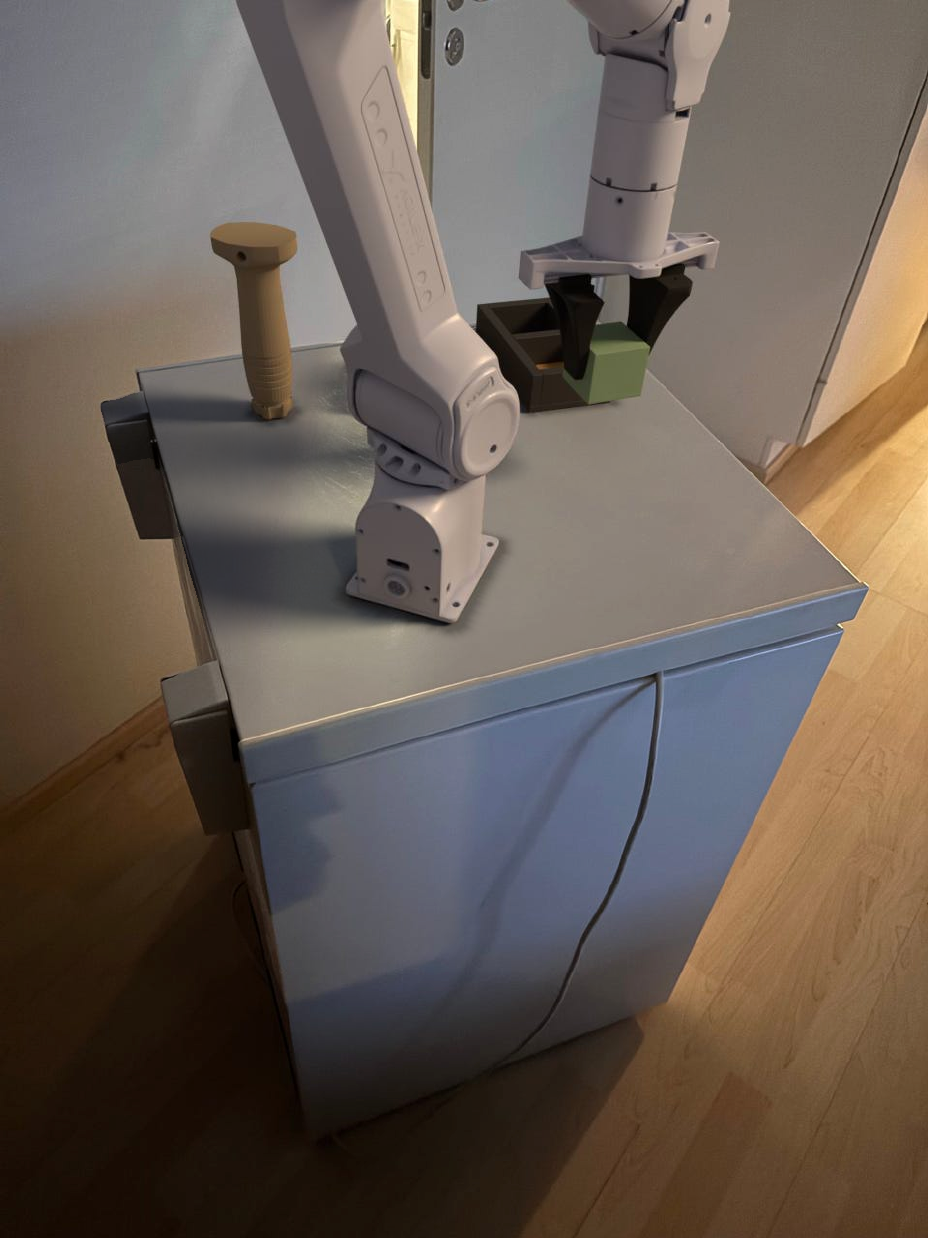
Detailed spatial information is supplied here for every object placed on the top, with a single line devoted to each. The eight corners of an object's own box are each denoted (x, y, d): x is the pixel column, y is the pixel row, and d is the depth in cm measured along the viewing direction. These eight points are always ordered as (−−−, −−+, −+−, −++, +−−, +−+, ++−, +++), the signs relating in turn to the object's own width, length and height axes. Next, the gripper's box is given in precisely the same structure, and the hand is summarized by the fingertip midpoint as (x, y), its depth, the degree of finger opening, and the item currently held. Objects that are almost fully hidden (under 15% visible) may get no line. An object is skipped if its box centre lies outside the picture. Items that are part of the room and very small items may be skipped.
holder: (529, 412, 79) (532, 375, 77) (475, 338, 89) (477, 303, 87) (610, 402, 81) (617, 365, 79) (548, 331, 91) (552, 296, 89)
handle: (298, 431, 75) (281, 251, 65) (227, 419, 76) (199, 239, 66) (318, 404, 78) (305, 228, 68) (250, 393, 79) (227, 218, 69)
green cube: (640, 396, 68) (650, 346, 65) (587, 404, 66) (595, 354, 64) (613, 369, 71) (621, 320, 68) (562, 376, 69) (568, 327, 67)
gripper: (559, 206, 54) (537, 408, 63) (761, 188, 58) (713, 380, 67) (513, 170, 58) (499, 363, 68) (703, 156, 62) (665, 339, 72)
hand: (602, 369), depth 68 cm, fingers closed on green cube, 4 cm apart
